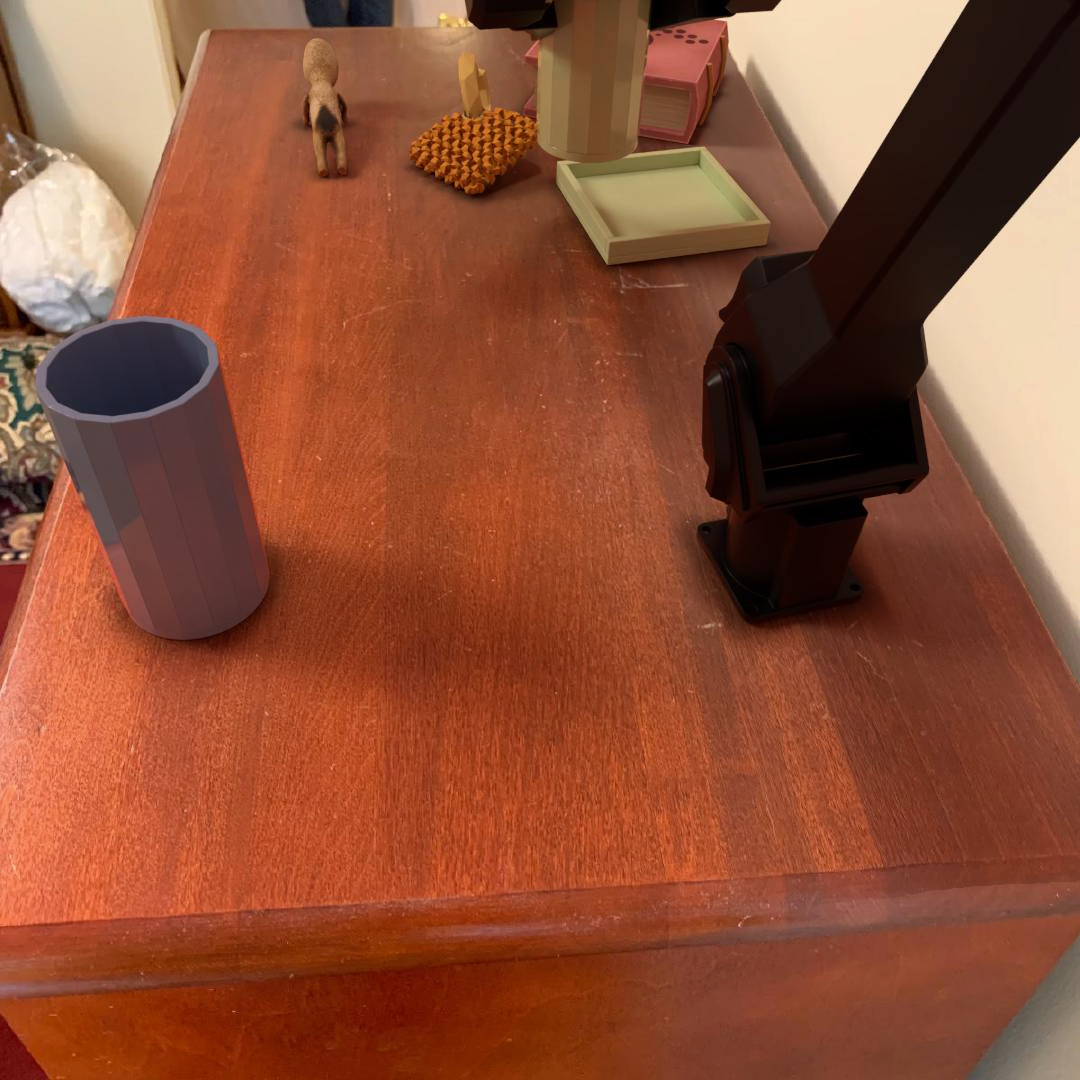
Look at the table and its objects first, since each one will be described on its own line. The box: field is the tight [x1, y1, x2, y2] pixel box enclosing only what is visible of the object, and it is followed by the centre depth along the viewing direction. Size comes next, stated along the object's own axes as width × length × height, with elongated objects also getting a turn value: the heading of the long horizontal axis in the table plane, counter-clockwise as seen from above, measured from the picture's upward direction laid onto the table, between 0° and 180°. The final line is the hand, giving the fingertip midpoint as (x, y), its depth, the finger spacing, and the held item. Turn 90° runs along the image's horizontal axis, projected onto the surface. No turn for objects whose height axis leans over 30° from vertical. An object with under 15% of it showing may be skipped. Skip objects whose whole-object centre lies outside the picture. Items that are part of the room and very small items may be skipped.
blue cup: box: [34, 315, 271, 641], centre depth 44 cm, size 7×7×13 cm
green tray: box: [555, 146, 772, 266], centre depth 75 cm, size 12×12×2 cm
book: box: [522, 19, 730, 145], centre depth 88 cm, size 14×15×5 cm
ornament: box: [408, 52, 538, 195], centre depth 79 cm, size 7×10×15 cm
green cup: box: [535, 0, 653, 163], centre depth 63 cm, size 7×7×13 cm
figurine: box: [301, 37, 349, 177], centre depth 81 cm, size 4×4×15 cm
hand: (587, 29), depth 64 cm, fingers closed on green cup, 7 cm apart
